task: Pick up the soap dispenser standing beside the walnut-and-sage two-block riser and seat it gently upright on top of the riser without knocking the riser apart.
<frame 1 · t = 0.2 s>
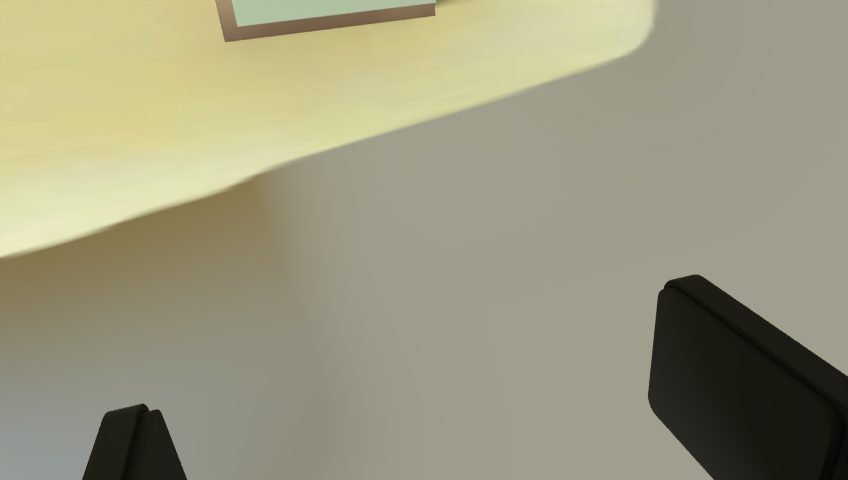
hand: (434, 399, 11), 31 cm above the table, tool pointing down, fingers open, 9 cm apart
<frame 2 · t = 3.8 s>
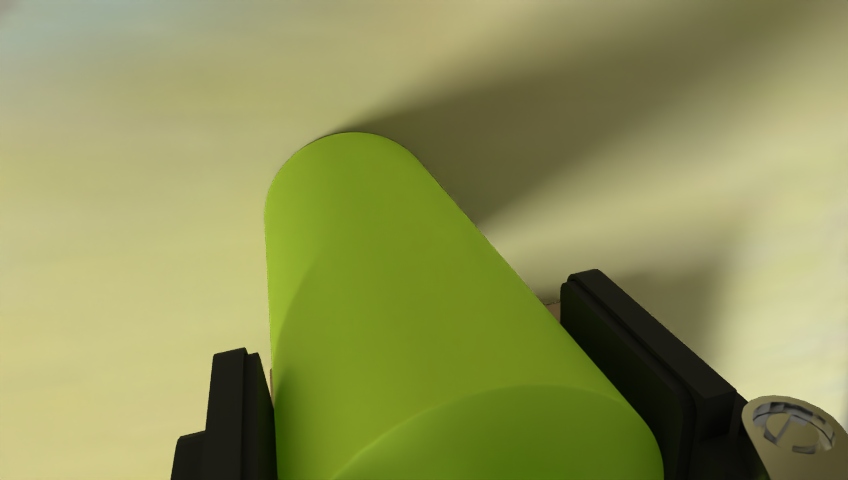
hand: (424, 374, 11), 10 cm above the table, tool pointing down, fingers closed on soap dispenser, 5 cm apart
soap dispenser: (351, 199, 20), on the table, touching gripper
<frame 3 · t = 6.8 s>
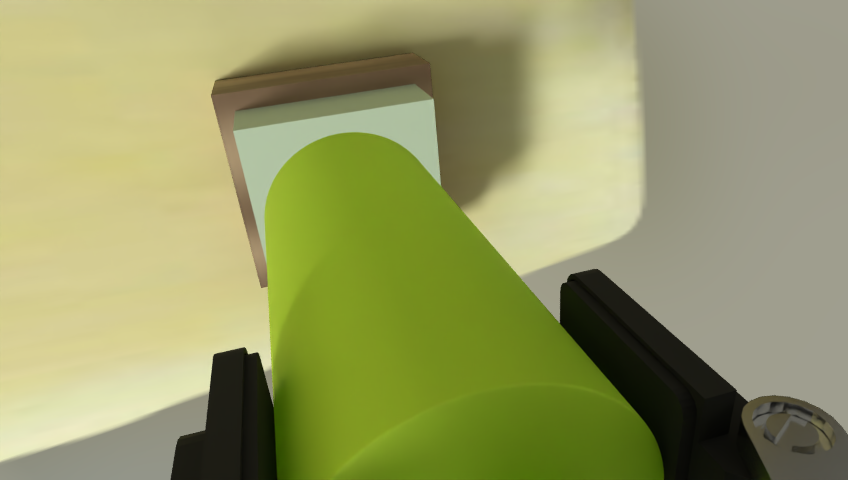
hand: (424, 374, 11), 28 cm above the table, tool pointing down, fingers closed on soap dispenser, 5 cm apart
riser base: (333, 160, 38), on the table
riser top: (341, 180, 35), point 4 cm above the table, touching riser base
soap dispenser: (351, 199, 20), point 18 cm above the table, touching gripper
when the fingers open (18 cm above the table, at t = 9.8 s): soap dispenser stays where it is, resting on riser top.
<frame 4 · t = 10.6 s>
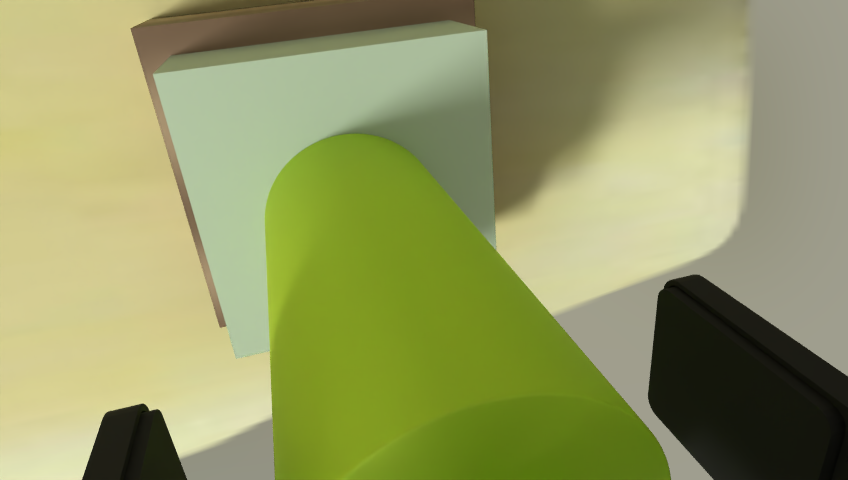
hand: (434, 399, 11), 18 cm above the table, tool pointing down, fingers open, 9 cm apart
riser base: (327, 142, 27), on the table
riser top: (338, 168, 23), point 4 cm above the table, touching riser base, soap dispenser
soap dispenser: (352, 201, 20), point 8 cm above the table, touching riser top
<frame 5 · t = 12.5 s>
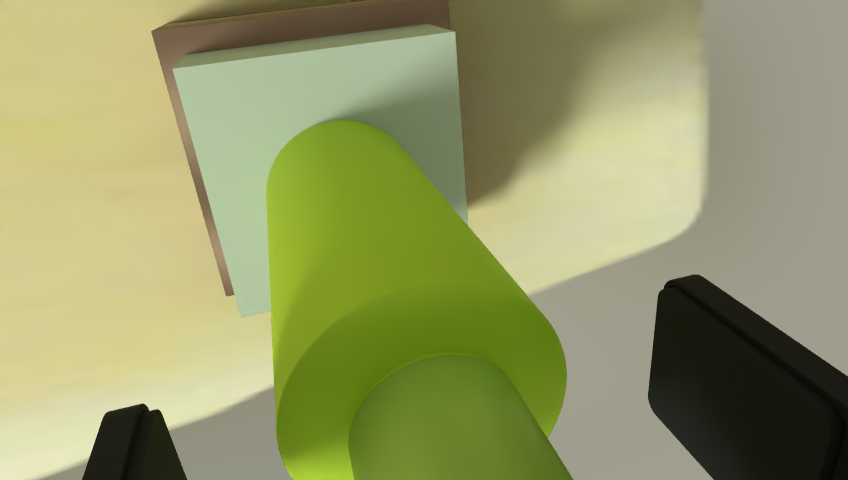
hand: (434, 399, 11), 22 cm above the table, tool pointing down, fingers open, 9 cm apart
riser base: (322, 133, 30), on the table
riser top: (330, 154, 26), point 4 cm above the table, touching riser base, soap dispenser
soap dispenser: (341, 179, 23), point 8 cm above the table, touching riser top
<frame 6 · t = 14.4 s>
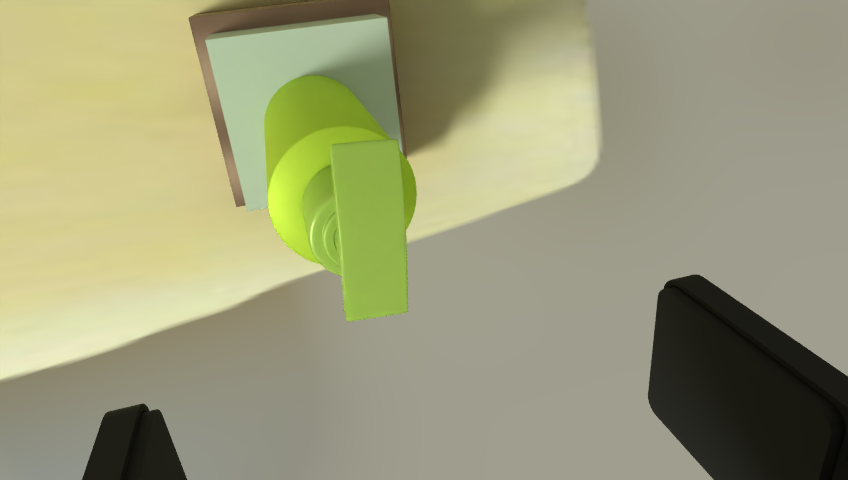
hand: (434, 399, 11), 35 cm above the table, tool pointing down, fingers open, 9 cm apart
riser base: (304, 94, 41), on the table
riser top: (309, 104, 38), point 4 cm above the table, touching riser base, soap dispenser
soap dispenser: (314, 116, 34), point 8 cm above the table, touching riser top
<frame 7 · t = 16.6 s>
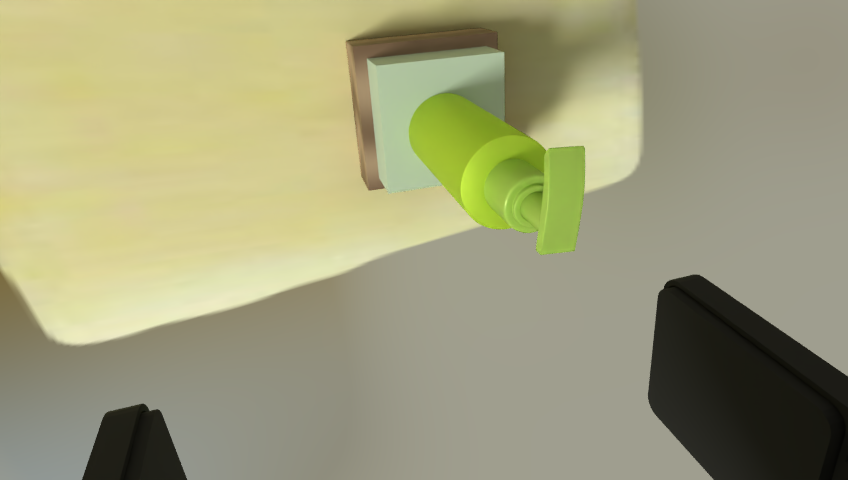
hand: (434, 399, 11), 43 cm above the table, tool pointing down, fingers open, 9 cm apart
riser base: (419, 104, 53), on the table
riser top: (431, 113, 49), point 4 cm above the table, touching riser base, soap dispenser
soap dispenser: (444, 123, 46), point 8 cm above the table, touching riser top
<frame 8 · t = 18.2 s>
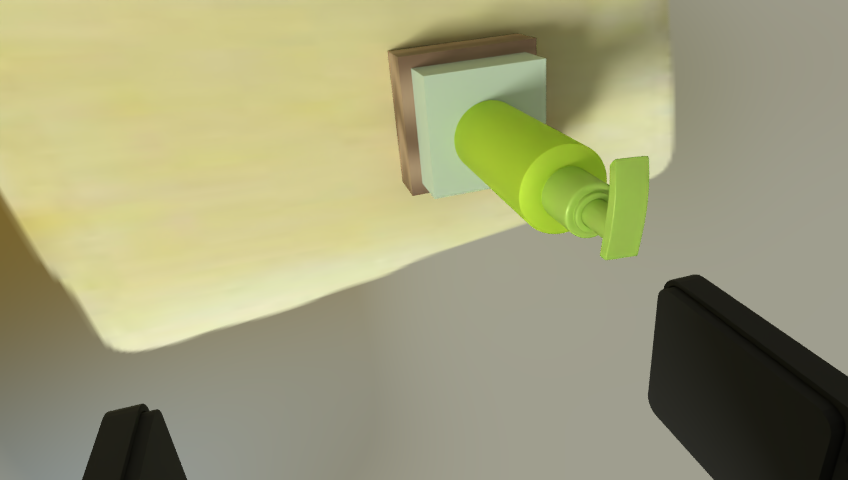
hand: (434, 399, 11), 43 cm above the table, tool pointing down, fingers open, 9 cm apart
riser base: (458, 109, 54), on the table
riser top: (472, 119, 50), point 4 cm above the table, touching riser base, soap dispenser
soap dispenser: (488, 129, 47), point 8 cm above the table, touching riser top
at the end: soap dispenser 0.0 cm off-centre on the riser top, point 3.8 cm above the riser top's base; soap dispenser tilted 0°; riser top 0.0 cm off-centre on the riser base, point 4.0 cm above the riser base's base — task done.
